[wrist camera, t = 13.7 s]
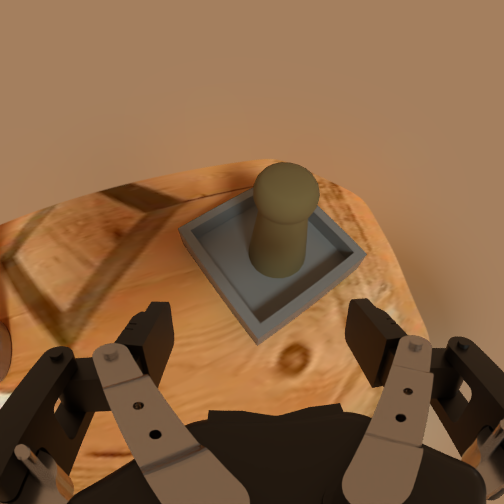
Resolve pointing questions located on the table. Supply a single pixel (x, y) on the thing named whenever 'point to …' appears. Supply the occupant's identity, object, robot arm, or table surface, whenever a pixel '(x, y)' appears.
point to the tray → (256, 284)
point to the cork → (282, 218)
